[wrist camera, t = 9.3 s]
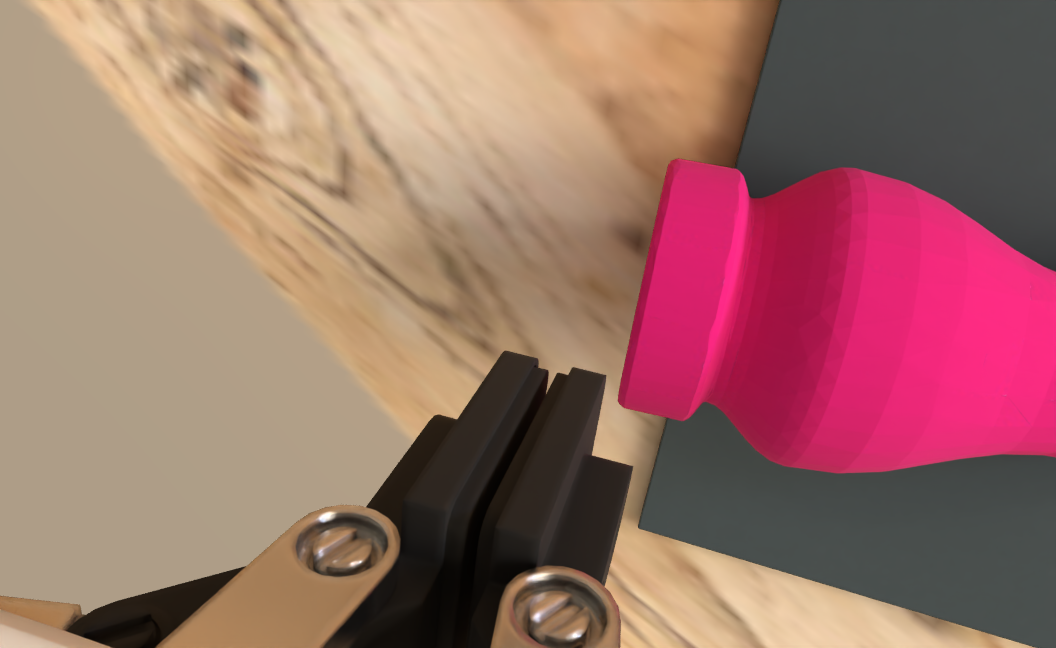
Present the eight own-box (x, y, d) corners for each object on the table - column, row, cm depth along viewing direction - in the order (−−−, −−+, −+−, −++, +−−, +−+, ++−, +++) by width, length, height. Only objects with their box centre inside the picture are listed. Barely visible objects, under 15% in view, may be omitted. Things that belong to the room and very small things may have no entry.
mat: (838, -217, 18) (839, -221, 17) (1701, -117, 15) (1731, -120, 14) (639, 519, 28) (637, 528, 27) (1127, 665, 25) (1133, 677, 24)
